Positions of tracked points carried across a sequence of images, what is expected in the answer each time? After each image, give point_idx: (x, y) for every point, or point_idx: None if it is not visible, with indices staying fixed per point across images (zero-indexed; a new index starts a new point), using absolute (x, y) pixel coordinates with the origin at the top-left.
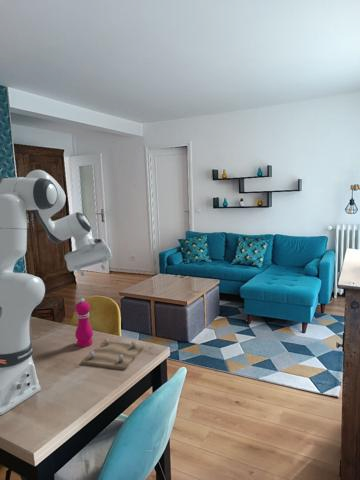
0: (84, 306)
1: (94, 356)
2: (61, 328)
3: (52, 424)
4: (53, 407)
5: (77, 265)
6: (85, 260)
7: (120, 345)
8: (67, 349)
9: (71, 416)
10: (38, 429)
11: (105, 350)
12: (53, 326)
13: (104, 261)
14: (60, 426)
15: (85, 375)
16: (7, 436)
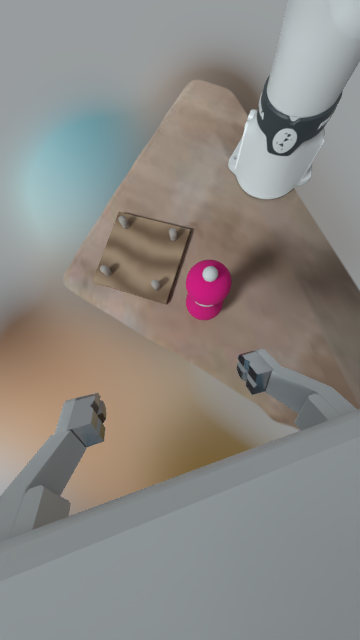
0: (197, 263)
1: (171, 243)
2: None
3: (188, 109)
4: (197, 135)
5: (351, 413)
6: (285, 499)
7: (132, 282)
8: None
9: (171, 122)
10: (200, 102)
11: (156, 264)
12: None
13: (21, 479)
14: (178, 107)
15: (175, 201)
16: (228, 91)
